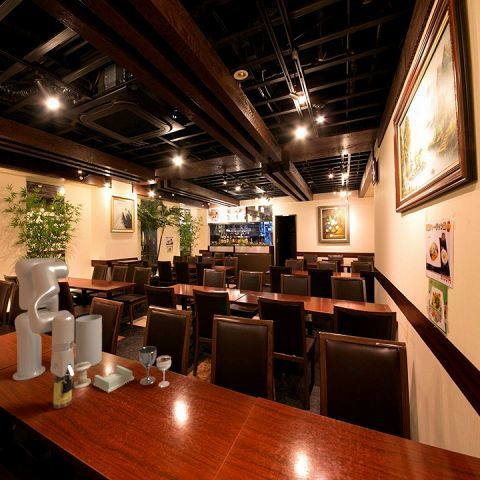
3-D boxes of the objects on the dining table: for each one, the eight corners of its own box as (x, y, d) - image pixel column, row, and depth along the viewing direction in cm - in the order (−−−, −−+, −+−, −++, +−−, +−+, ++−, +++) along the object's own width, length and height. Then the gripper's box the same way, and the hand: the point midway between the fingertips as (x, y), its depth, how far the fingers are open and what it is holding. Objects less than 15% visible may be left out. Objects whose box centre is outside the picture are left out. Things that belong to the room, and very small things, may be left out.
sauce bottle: (62, 410, 100) (62, 361, 100) (49, 408, 101) (49, 359, 101) (75, 400, 106) (76, 353, 106) (63, 398, 108) (64, 352, 108)
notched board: (93, 384, 118) (93, 376, 118) (119, 372, 129) (119, 364, 129) (108, 392, 112) (108, 383, 112) (134, 379, 123) (134, 370, 123)
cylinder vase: (103, 356, 147) (103, 314, 148) (99, 366, 135) (99, 320, 136) (79, 359, 143) (79, 316, 144) (72, 370, 132) (72, 322, 132)
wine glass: (135, 383, 119) (135, 351, 119) (147, 375, 127) (147, 345, 127) (148, 386, 116) (148, 354, 116) (159, 378, 124) (159, 347, 124)
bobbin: (70, 385, 117) (70, 366, 117) (86, 378, 123) (86, 360, 123) (78, 390, 114) (78, 370, 114) (93, 382, 120) (94, 364, 120)
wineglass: (167, 389, 115) (167, 362, 115) (153, 387, 116) (153, 361, 116) (173, 381, 121) (173, 356, 121) (160, 379, 123) (161, 354, 123)
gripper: (43, 344, 105) (42, 386, 105) (63, 353, 96) (63, 400, 96) (63, 338, 111) (63, 378, 111) (83, 346, 103) (83, 390, 102)
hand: (63, 388), depth 104 cm, fingers closed on sauce bottle, 6 cm apart
